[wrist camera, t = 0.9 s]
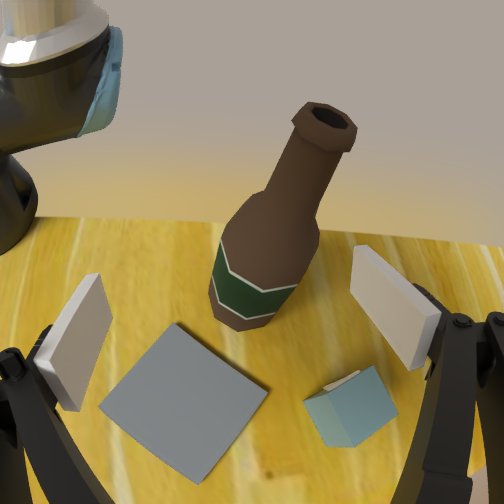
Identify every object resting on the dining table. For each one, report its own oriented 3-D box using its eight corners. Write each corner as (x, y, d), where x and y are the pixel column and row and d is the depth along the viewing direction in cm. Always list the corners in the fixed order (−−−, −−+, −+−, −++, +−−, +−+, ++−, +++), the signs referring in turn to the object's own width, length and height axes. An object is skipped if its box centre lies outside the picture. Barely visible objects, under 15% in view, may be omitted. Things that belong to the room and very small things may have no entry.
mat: (99, 407, 25) (97, 406, 24) (173, 324, 31) (173, 322, 31) (197, 483, 23) (198, 485, 22) (265, 393, 29) (268, 392, 29)
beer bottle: (212, 264, 36) (265, 68, 17) (276, 277, 37) (378, 106, 18) (201, 327, 32) (252, 135, 12) (272, 339, 33) (410, 185, 13)
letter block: (366, 419, 30) (398, 413, 25) (325, 446, 27) (354, 447, 22) (343, 374, 32) (372, 362, 27) (300, 398, 30) (325, 391, 25)
